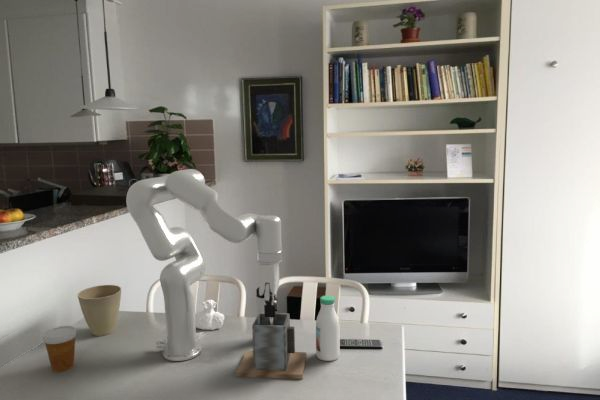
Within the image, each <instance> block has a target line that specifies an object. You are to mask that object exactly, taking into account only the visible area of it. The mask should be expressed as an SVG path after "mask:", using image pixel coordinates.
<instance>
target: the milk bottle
mask: <svg viewBox="0 0 600 400" xmlns="http://www.w3.org/2000/svg"><path fill="white" fill-rule="evenodd" d="M319 300H320V301H319V302H320V310H319V312H318V315H317V316H316V321H315V352H316V353H315V355H316V357H317V358H318V359H319V360H321V361H326V362H331V361H335V360H337V359H339V357H340V356H341V354H340V352H341V348H340V347H341V346H340V345H341V344H340V342H341V341H340V340H341V339H340V338H341V337H340V334H341V332H340V318H339V317H338V314H337V312H336V308H335V297H334V296H333V295H322V296H320V298H319Z"/></svg>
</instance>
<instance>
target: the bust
mask: <svg viewBox="0 0 600 400" xmlns="http://www.w3.org/2000/svg"><path fill="white" fill-rule="evenodd" d="M217 303H218V302H216V301H215V300H214V299H207V300H205V301H203V302H201V304H202V306H203V308H204V311H200V312H198V313H195V326H196V328H197V329H201V330H202V331H204V330H206V331H208V330H209V331H210V330H211V331H214V330H218V329H221V328H222V327H223V324H224V322H225V315H224V314H223V313H222V312H221V313H220V311H215V310H214V308H216V305H217Z"/></svg>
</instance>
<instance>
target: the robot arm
mask: <svg viewBox="0 0 600 400" xmlns="http://www.w3.org/2000/svg"><path fill="white" fill-rule="evenodd" d="M125 199H126V201H125V202H126V208H127V210H128V213H129V215H130V216H131V217H132V219H133V221H134V222H135V223H136V226H137V227H138V230H139V231H140V233H141V236H142V238H143V240H144V241H145V243H146V245H147V247H148V249H149V252H150V253H151V255H152V256H153V258H154V259H155V260H156V261H159V262H162V261H163V262H164V261H167V260H170V259H172V258H175V260H174V261H172V262H169V263H168V264H166V265H165V266H164V268H163V269H162V270H161V271H160V274H159V282H160V286H161V290H162V293H163V294H162V295H163V301H164V315H165V329H166V330H165V331H166V338H165V339H161V338H157V339H156V341H155V345H156V348H157V349H158V348H159V349H161V348H163V350H162V356H163V358H164V359H166V360H168V361H171V362H183V361H189V360H191V359H193V358H196V357H197V356H199V355H200V354H201V353H202V345H201V344H200V343H198V342H197V333H196V332H197V331H196V326H195V314H196V313H195V311H196V309H195V299H194V295H193V293H192V291H191V287H190V286H192V285H194V283H196V282H198V281H200V280H201V279H202V278H203V277H204V276H205V274H206V264H205V261H204V259H203V257H202V254H201V252H200V251H199V249H198V247H197V245H196V242H195V240H194V239H193V237H192V235H191V234H190V232H189V231H188V230H186V229H185V228H183V227H181V226H174V227H169V225H168V224H167V221H166V219H165V218H164V215H163V214H162V213H161V212H160V211H159V210H158V209H157V208H156V207H154V205H155V204H156V205H157V204H159V203H164V202H167V201H172V200H179V201H180V202H182V203H184V204H185V205H186V206H188V207H190V208H191V209H192V210H194V211H196V212H197V213H199V214H200V215H201V217H202V218H203V221H204V222H205V224H206V225H207V226H208V228H209V229H210V230H211V231H212V232H214V233H215V234H216V235H218V236H219V237H221V238H223V239H224V240H225V241H228V242H230V243H234V244H241V243H244V242H246V241H247V240H249V239H253V238H255V237H256V256H257V257H256V260H257V263H258V264H259V269H258V271H259V273H258V276H259V277H258V287H259V295H260V296H262V295H263V293H264V312H265V317H275V313H276V311H275V304H274V298H275V299H278V290H279V288H280V263H281V262H283V253H282V252H283V248H282V247H283V246H282V220H281V218H280V217H279V216H278V215H261V214H258V213H251V212H247V213H245V214H241V215H239V216H236V217H235V216H233V215H232V214H230V213H229V212H227V211H226V210H225V209H223V208H222V207H221V206H220V204H219V202H218V201H219V193H218V192H217V191H216V190H215V189H213V188H212V187H210V186H208V185H206V179H205V177H204V175H203V174H202V173H201V172H200V171H199V170H197V169H194V168H190V169H189V168H188V169H181V170H180V169H179V170H175V171H172V172H171V173H170V174H168V175H164V176H163V175H162V176H157V177H151V178H150V177H149V178H144V179H141V180H138V181H136V182H134V183H133V184H131V185H130V187H129V188H128V191H127V193H126V197H125ZM271 298H272V299H271ZM278 302H279V301H277V303H278Z"/></svg>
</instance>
